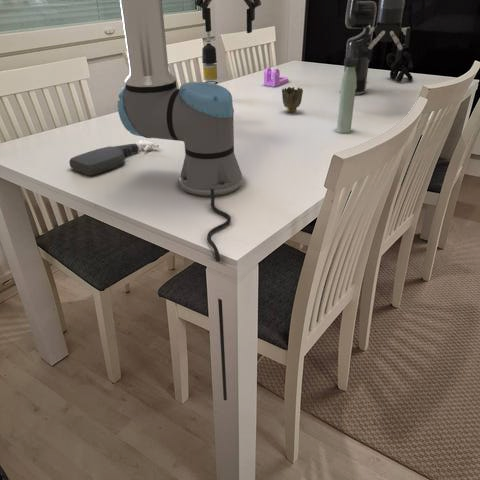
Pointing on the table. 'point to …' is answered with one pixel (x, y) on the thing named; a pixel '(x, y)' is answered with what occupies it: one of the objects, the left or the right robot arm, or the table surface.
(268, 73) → the bracket
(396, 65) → the squiggle
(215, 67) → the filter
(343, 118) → the bottle
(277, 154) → the table surface
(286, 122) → the table surface
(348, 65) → the cap
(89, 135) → the table surface
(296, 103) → the cup
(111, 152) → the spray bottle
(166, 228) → the table surface
